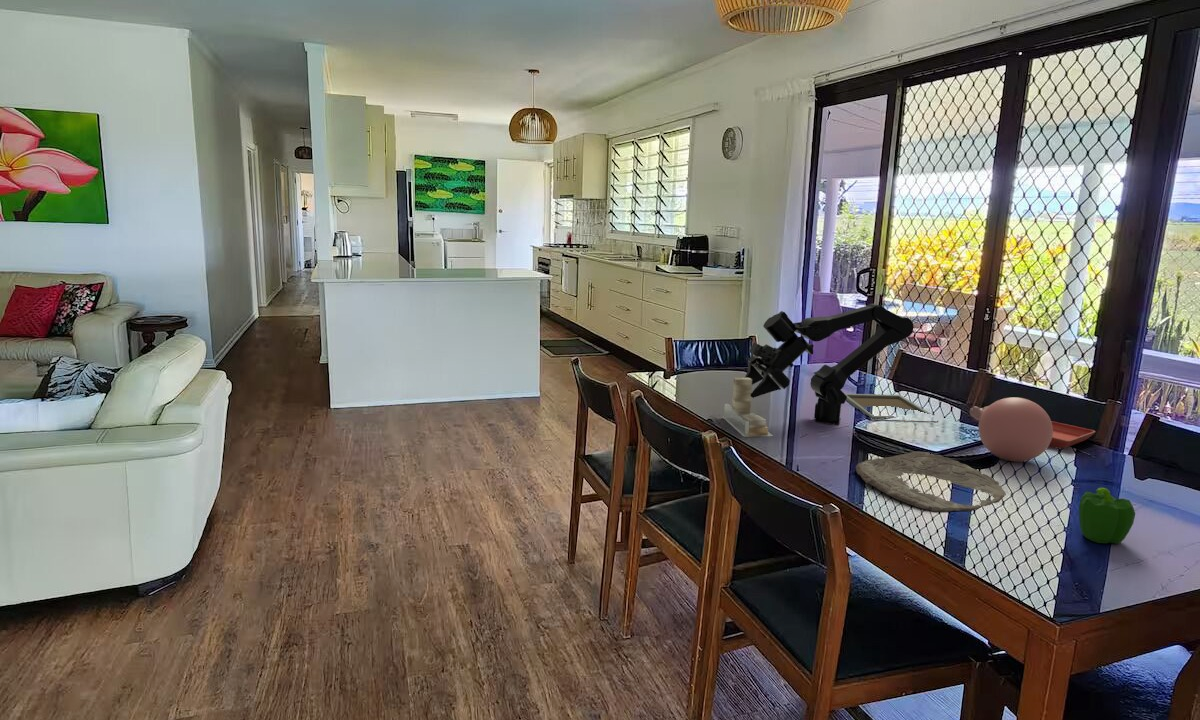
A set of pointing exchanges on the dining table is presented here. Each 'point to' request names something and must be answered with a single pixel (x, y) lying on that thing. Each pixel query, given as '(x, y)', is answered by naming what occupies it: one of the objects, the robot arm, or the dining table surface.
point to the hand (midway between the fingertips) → (745, 392)
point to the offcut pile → (756, 424)
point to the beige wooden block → (742, 394)
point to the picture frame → (881, 402)
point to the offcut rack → (739, 421)
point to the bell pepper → (1105, 517)
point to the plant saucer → (1068, 435)
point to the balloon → (1014, 428)
